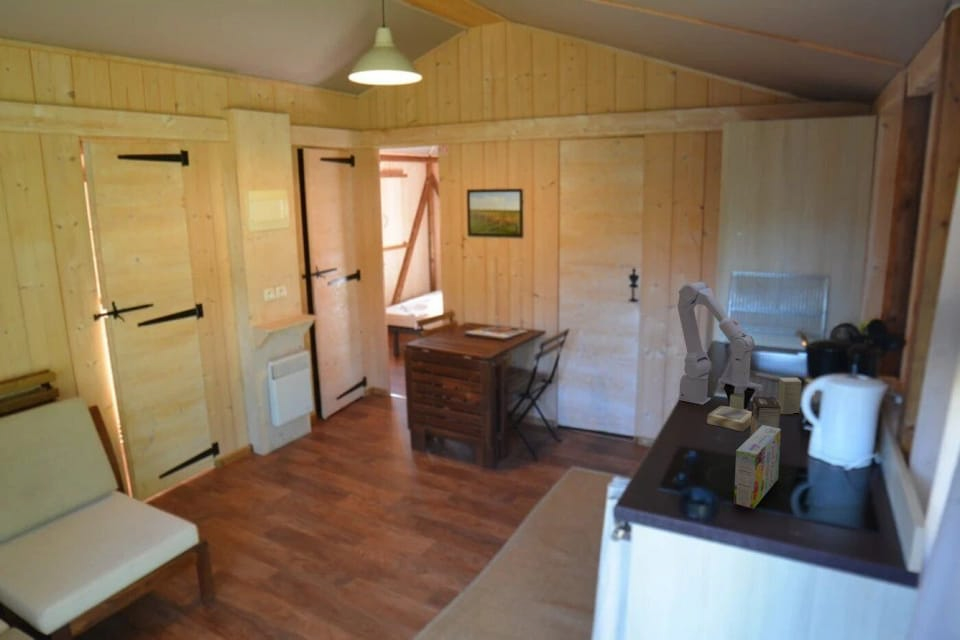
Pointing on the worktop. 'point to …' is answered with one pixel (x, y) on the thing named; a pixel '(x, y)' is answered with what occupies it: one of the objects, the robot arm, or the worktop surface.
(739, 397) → the green block
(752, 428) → the coffee box
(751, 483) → the snack box
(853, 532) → the worktop surface
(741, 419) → the base block
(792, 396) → the skincare box
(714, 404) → the worktop surface
